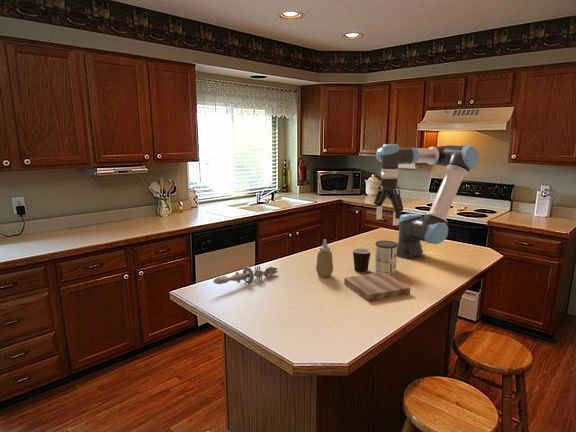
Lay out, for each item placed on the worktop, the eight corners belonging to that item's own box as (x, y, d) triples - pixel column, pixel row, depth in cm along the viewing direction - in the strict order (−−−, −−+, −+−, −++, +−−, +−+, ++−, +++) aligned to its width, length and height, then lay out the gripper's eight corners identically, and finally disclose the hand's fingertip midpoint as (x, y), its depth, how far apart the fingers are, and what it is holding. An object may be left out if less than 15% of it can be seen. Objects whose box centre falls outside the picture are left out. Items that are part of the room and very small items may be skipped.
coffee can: (374, 266, 192) (376, 239, 189) (395, 268, 189) (397, 241, 186) (373, 273, 182) (374, 245, 179) (395, 275, 179) (397, 246, 176)
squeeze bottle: (320, 272, 184) (320, 236, 180) (335, 275, 180) (336, 238, 176) (312, 277, 177) (313, 240, 174) (328, 280, 173) (329, 242, 170)
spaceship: (207, 273, 161) (217, 270, 155) (270, 263, 185) (280, 260, 179) (210, 291, 160) (220, 290, 154) (273, 279, 184) (283, 277, 178)
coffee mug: (357, 266, 192) (358, 247, 190) (373, 269, 187) (373, 250, 185) (345, 272, 183) (346, 252, 181) (361, 276, 178) (362, 256, 176)
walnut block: (382, 278, 176) (382, 272, 175) (410, 294, 157) (410, 287, 157) (344, 284, 169) (344, 277, 168) (368, 301, 151) (368, 294, 150)
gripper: (367, 175, 186) (366, 217, 191) (399, 180, 163) (396, 228, 168) (380, 174, 189) (379, 216, 193) (413, 180, 166) (410, 227, 170)
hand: (387, 222), depth 181 cm, fingers open, 13 cm apart
